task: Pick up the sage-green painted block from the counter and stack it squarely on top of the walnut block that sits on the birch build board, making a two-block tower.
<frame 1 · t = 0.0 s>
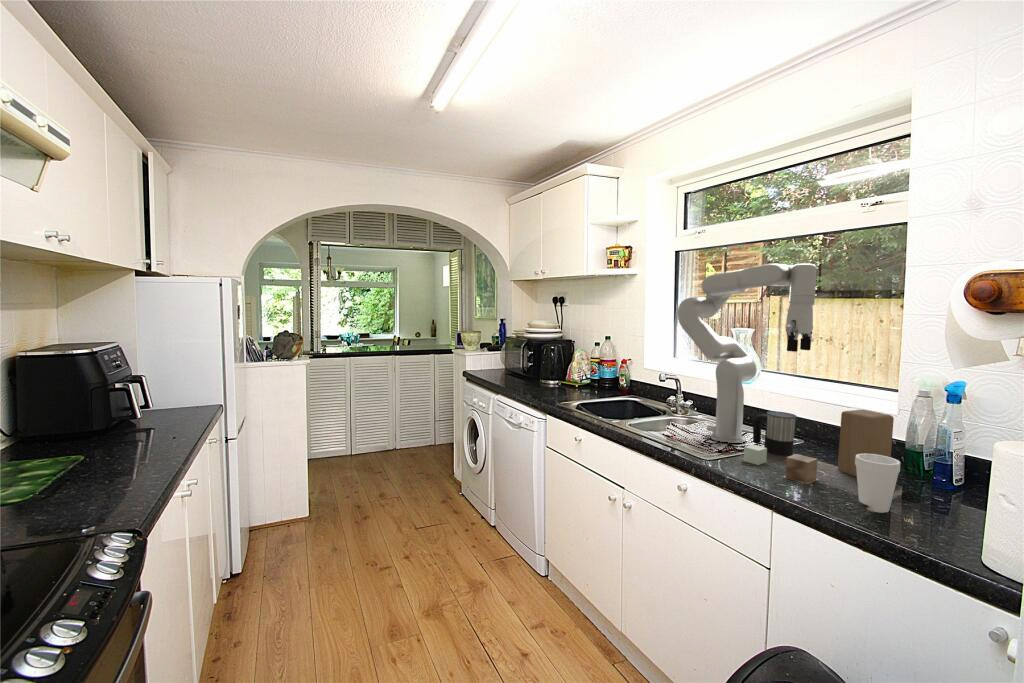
hand: (798, 350, 176), 37 cm above the counter, tool pointing down, fingers open, 9 cm apart
milk frother: (769, 457, 177), on the counter
block: (862, 477, 157), on the counter
foam cup: (873, 508, 133), on the counter
build board: (796, 478, 155), on the counter
sage block: (754, 465, 167), on the counter
walnut block: (800, 477, 152), point 1 cm above the counter, touching build board
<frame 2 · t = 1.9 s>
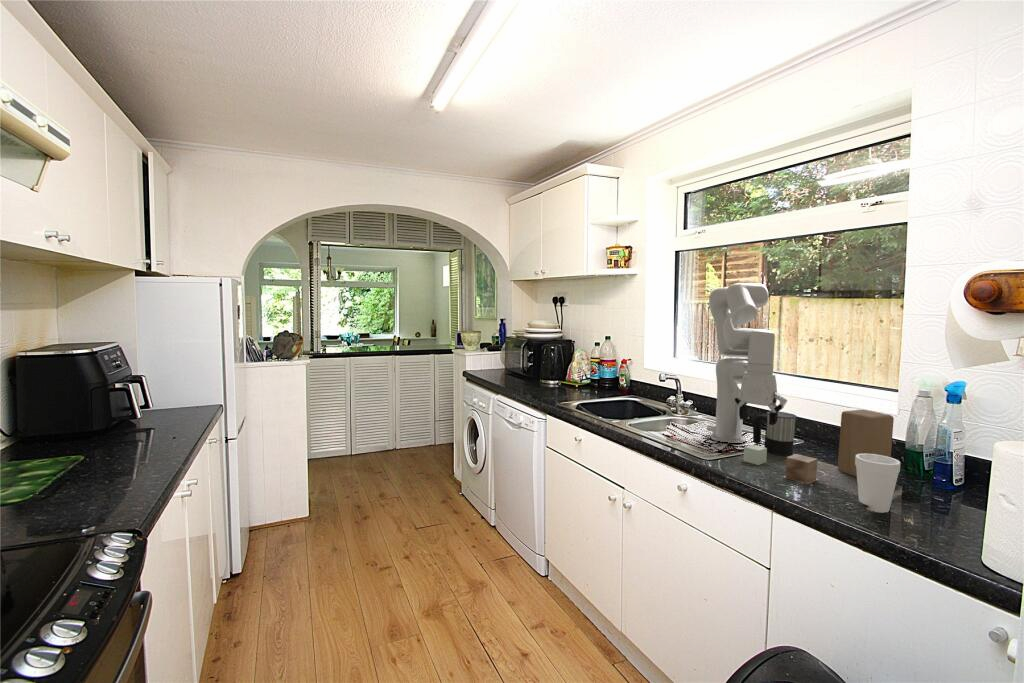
hand: (757, 421, 165), 15 cm above the counter, tool pointing down, fingers open, 9 cm apart
nothing on the counter moved.
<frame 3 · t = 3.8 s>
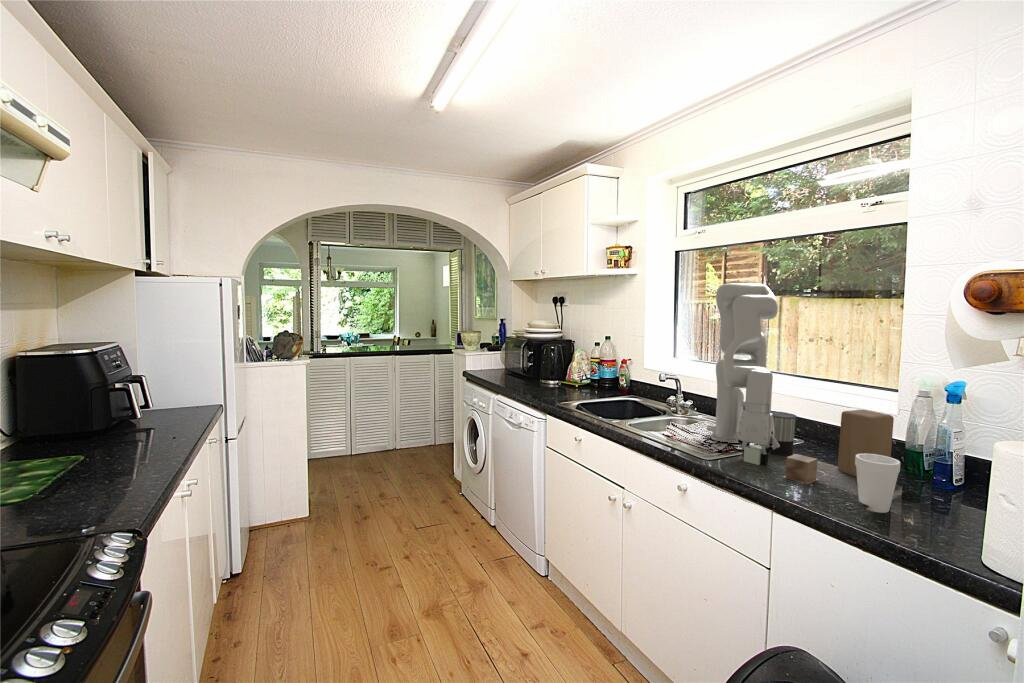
hand: (754, 462, 167), 1 cm above the counter, tool pointing down, fingers closed on sage block, 5 cm apart
sage block: (754, 465, 167), on the counter, touching gripper
everything else where it was.
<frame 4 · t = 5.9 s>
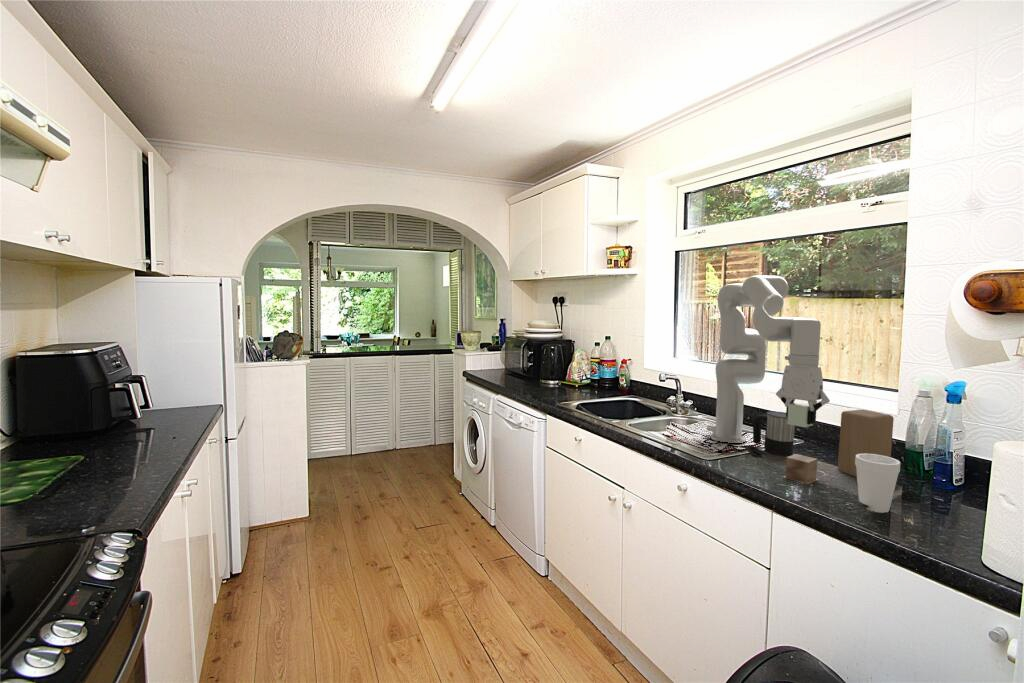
hand: (800, 421, 151), 18 cm above the counter, tool pointing down, fingers closed on sage block, 5 cm apart
sage block: (800, 424, 151), point 17 cm above the counter, touching gripper
everything else where it was.
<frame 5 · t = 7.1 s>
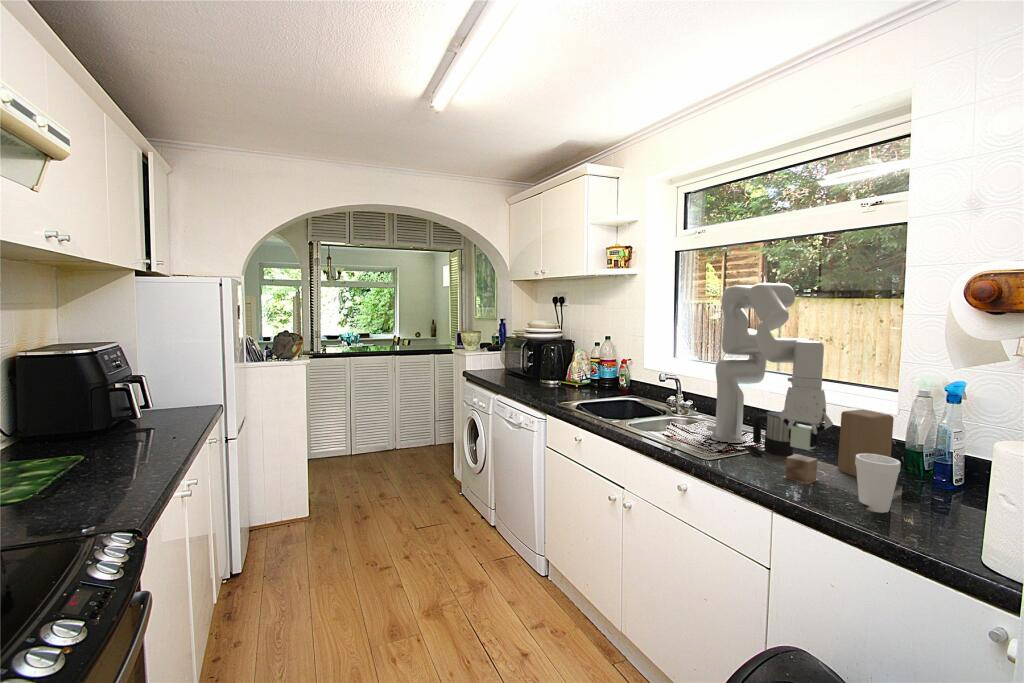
hand: (803, 443, 151), 12 cm above the counter, tool pointing down, fingers closed on sage block, 5 cm apart
sage block: (803, 446, 151), point 11 cm above the counter, touching gripper
everything else where it was.
when the fingers open (9 cm above the counter, at t = 8.0 s): sage block stays where it is, resting on walnut block.
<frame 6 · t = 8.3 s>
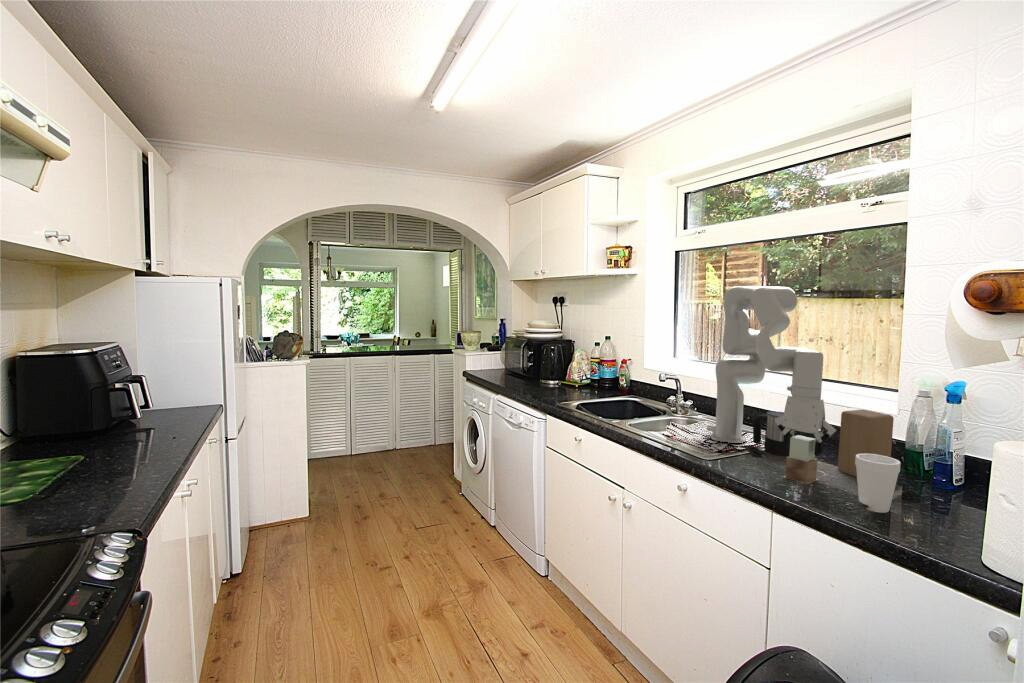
hand: (802, 450, 151), 9 cm above the counter, tool pointing down, fingers open, 8 cm apart
sage block: (801, 458, 151), point 7 cm above the counter, touching walnut block
walnut block: (800, 477, 152), point 1 cm above the counter, touching build board, sage block
everything else where it was.
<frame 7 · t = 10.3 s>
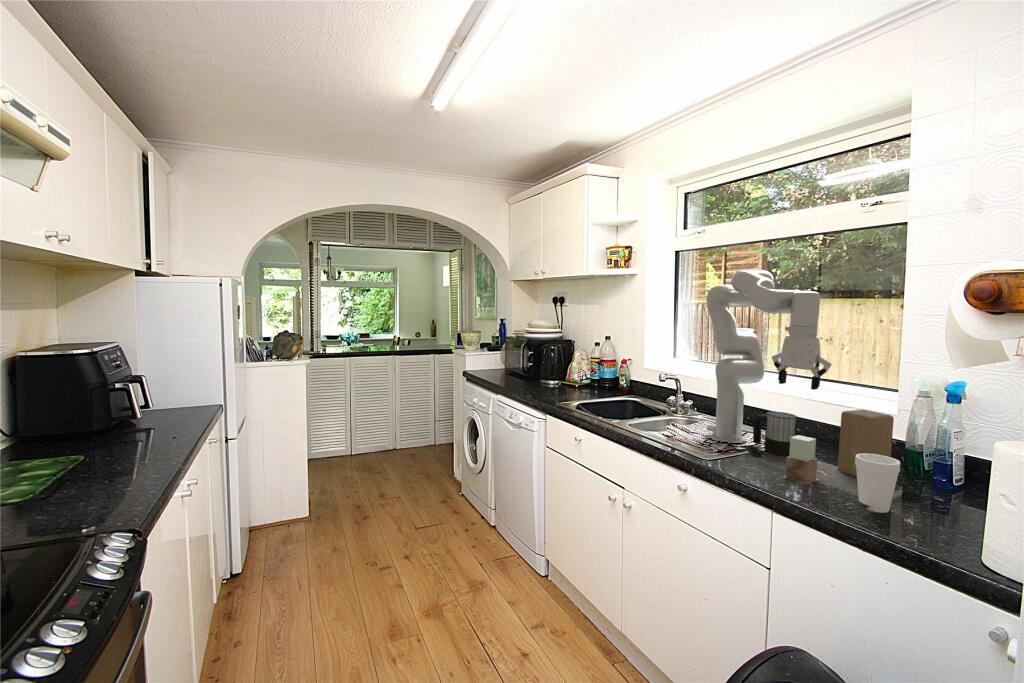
hand: (798, 386, 160), 27 cm above the counter, tool pointing down, fingers open, 9 cm apart
nothing on the counter moved.
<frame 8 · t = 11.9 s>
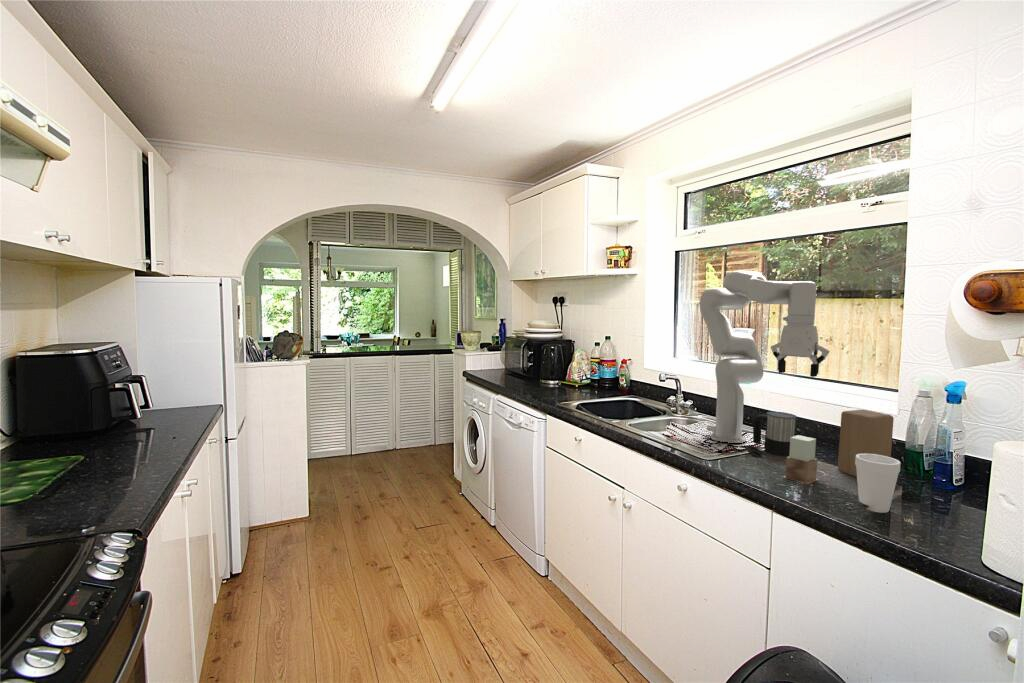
hand: (797, 374, 163), 30 cm above the counter, tool pointing down, fingers open, 9 cm apart
nothing on the counter moved.
at the end: sage block 0.0 cm off-centre on the walnut block, point 6.0 cm above the walnut block's base; sage block tilted 0°; walnut block moved 0.0 cm from its start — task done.
